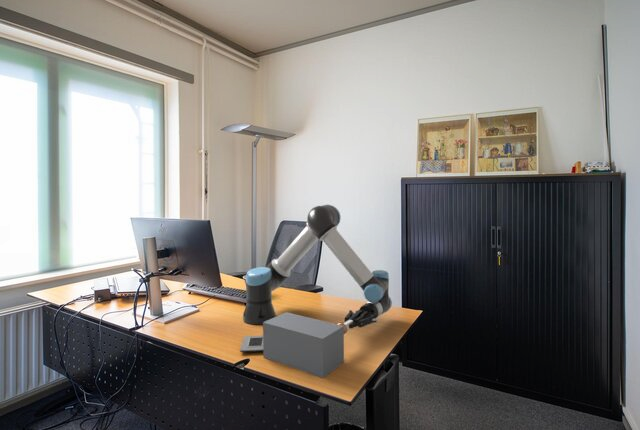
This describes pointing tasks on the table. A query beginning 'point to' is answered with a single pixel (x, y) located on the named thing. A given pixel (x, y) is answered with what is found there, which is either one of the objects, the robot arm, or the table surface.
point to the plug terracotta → (344, 327)
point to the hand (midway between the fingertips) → (342, 328)
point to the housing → (304, 343)
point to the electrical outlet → (252, 344)
